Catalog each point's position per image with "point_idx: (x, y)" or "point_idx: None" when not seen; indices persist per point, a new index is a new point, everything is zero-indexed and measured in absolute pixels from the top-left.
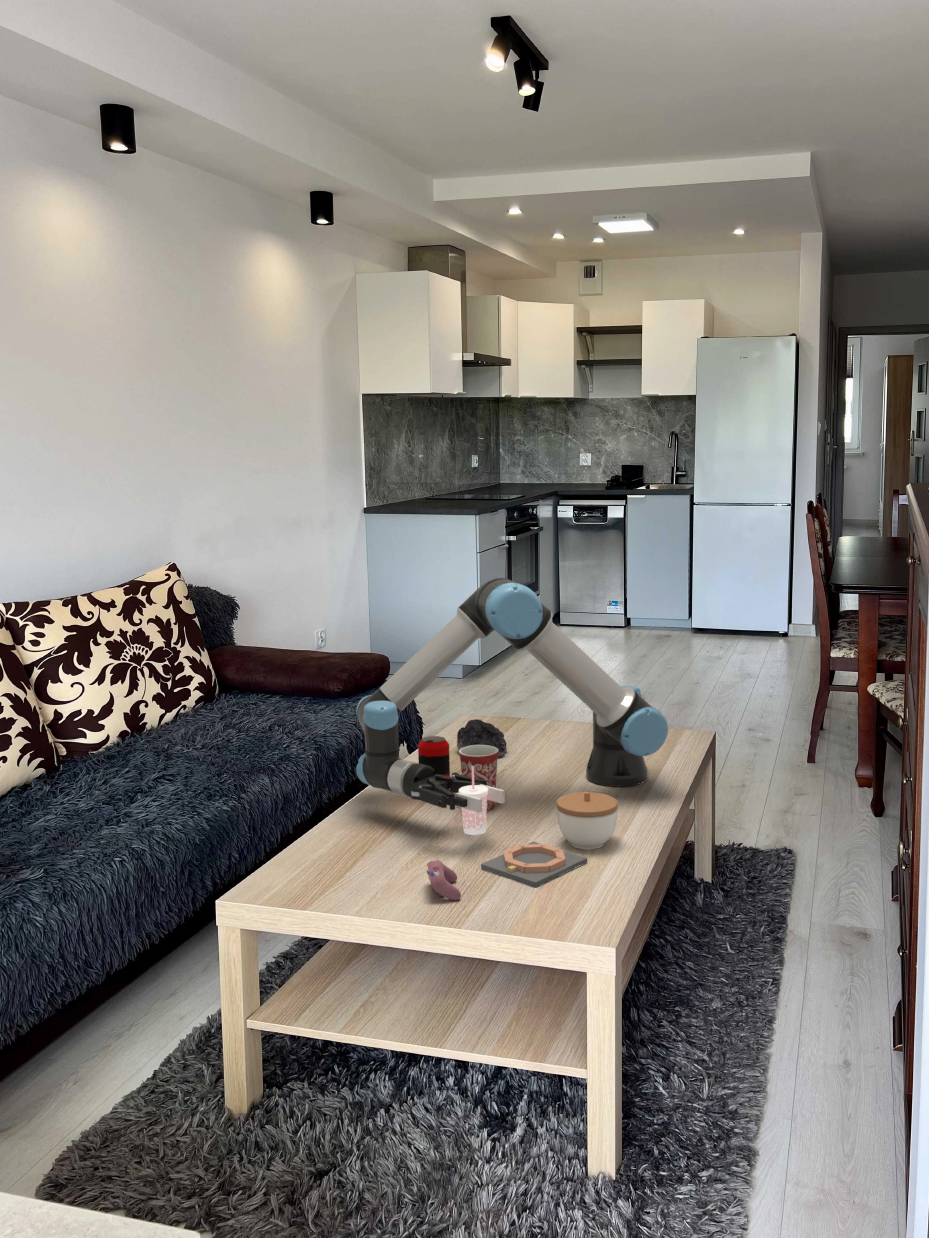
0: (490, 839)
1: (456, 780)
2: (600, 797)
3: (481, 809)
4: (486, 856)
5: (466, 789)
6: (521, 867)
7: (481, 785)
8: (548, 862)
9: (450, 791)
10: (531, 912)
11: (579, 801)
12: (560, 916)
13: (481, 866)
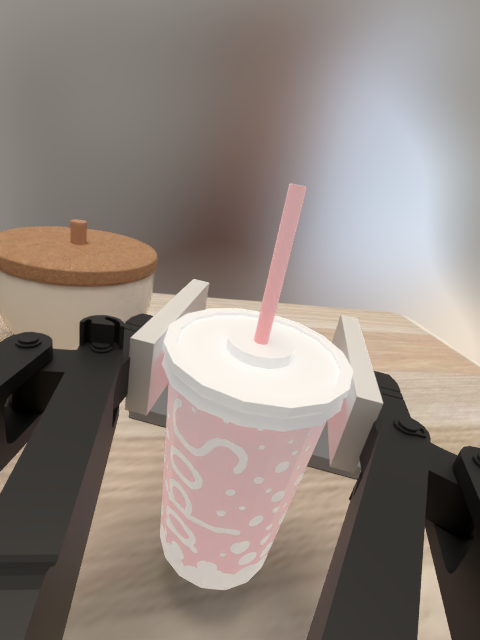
0: (95, 557)
1: (6, 538)
2: (47, 232)
3: None
4: None
5: (268, 378)
6: None
7: (156, 334)
8: None
9: (373, 455)
10: (415, 364)
11: (89, 248)
12: (388, 342)
13: (359, 472)
